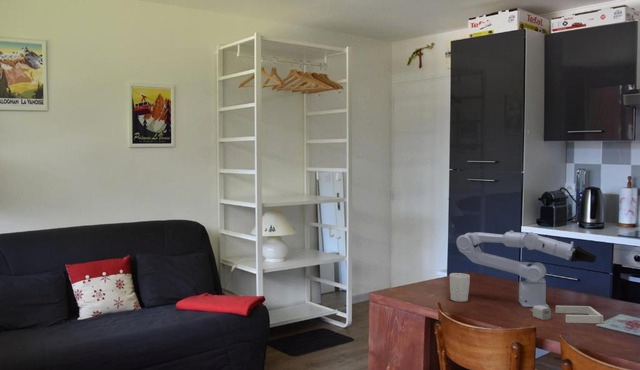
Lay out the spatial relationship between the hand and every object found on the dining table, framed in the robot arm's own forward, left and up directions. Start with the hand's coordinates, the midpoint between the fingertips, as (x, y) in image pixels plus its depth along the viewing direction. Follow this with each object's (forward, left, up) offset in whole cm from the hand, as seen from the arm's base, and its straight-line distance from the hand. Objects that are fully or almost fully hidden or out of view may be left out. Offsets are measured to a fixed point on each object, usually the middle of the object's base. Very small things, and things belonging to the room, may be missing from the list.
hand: (595, 259), depth 209 cm
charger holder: (-9, -9, -19) cm, 23 cm away
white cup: (-47, +13, -19) cm, 52 cm away
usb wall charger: (-22, -9, -20) cm, 31 cm away
